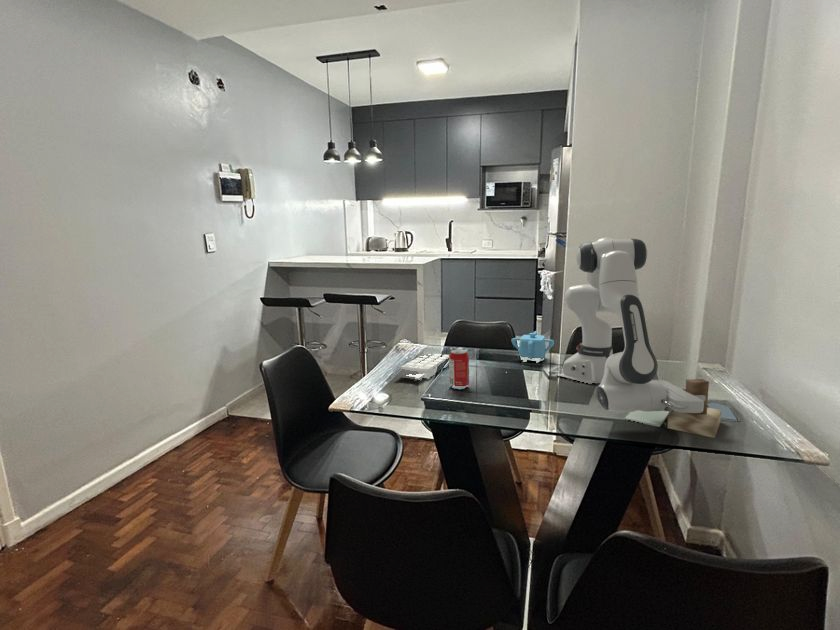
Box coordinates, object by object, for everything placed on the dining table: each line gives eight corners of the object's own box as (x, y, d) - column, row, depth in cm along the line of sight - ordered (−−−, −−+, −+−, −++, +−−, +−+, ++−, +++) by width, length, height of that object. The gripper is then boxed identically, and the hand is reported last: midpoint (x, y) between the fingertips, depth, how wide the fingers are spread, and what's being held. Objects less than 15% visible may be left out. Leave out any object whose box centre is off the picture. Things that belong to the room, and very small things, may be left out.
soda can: (446, 389, 178) (445, 352, 175) (454, 384, 185) (453, 348, 182) (464, 392, 174) (464, 354, 172) (472, 386, 181) (471, 349, 179)
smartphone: (712, 418, 142) (703, 401, 156) (712, 421, 142) (703, 404, 156) (740, 421, 139) (728, 404, 153) (740, 424, 139) (728, 406, 153)
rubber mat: (624, 419, 143) (624, 418, 143) (636, 407, 154) (636, 405, 154) (659, 427, 137) (659, 425, 137) (669, 413, 148) (669, 411, 147)
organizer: (451, 355, 215) (420, 374, 184) (451, 364, 216) (420, 385, 185) (426, 352, 221) (391, 371, 190) (426, 362, 222) (392, 382, 190)
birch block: (667, 428, 136) (668, 415, 135) (676, 414, 147) (677, 402, 146) (714, 437, 128) (715, 424, 128) (720, 422, 139) (721, 410, 139)
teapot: (557, 362, 214) (557, 334, 212) (526, 366, 209) (527, 337, 207) (535, 354, 231) (535, 328, 229) (507, 357, 226) (507, 331, 224)
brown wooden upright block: (690, 414, 135) (692, 382, 134) (684, 411, 138) (686, 379, 137) (706, 414, 136) (708, 381, 134) (700, 410, 138) (702, 379, 137)
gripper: (674, 397, 125) (723, 396, 125) (637, 376, 146) (680, 375, 146) (672, 419, 126) (721, 418, 126) (636, 395, 146) (679, 394, 147)
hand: (699, 395), depth 136 cm, fingers closed on brown wooden upright block, 3 cm apart
